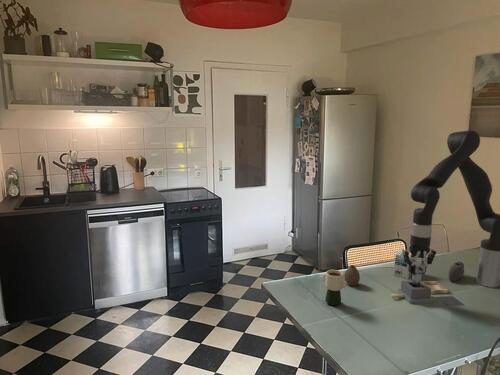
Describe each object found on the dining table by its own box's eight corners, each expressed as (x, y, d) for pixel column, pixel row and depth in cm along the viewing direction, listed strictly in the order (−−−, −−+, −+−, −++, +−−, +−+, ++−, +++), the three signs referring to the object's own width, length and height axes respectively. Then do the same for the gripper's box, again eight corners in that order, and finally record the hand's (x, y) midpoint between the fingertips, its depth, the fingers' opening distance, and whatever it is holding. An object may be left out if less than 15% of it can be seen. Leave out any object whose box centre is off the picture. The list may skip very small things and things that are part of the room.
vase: (357, 281, 172) (359, 263, 171) (360, 287, 165) (361, 269, 164) (342, 280, 173) (343, 262, 171) (344, 287, 166) (346, 268, 164)
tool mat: (452, 297, 158) (452, 296, 158) (465, 306, 150) (465, 305, 150) (434, 297, 157) (434, 296, 157) (446, 306, 149) (446, 305, 149)
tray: (436, 284, 170) (436, 281, 169) (448, 293, 161) (448, 289, 161) (417, 285, 169) (417, 281, 169) (428, 294, 160) (429, 290, 160)
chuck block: (419, 292, 162) (420, 279, 161) (432, 303, 152) (434, 289, 151) (386, 293, 160) (387, 280, 159) (397, 304, 151) (398, 290, 150)
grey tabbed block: (416, 284, 159) (418, 260, 157) (424, 292, 153) (427, 266, 151) (406, 285, 159) (409, 260, 157) (415, 292, 152) (417, 267, 150)
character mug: (349, 304, 150) (351, 274, 148) (340, 310, 145) (342, 279, 143) (326, 295, 157) (328, 266, 155) (316, 301, 152) (318, 271, 150)
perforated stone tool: (455, 285, 170) (456, 271, 169) (443, 281, 173) (444, 267, 172) (465, 276, 180) (467, 262, 179) (454, 273, 184) (455, 259, 183)
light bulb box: (407, 279, 175) (409, 257, 174) (393, 275, 179) (395, 254, 178) (413, 272, 184) (415, 251, 182) (399, 268, 188) (401, 248, 186)
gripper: (432, 231, 156) (428, 269, 159) (399, 231, 155) (396, 270, 158) (443, 236, 148) (438, 276, 151) (409, 237, 147) (405, 277, 150)
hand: (417, 273), depth 155 cm, fingers closed on grey tabbed block, 4 cm apart
